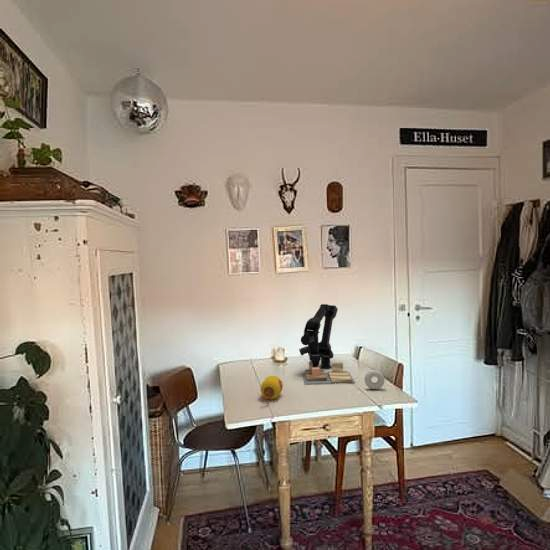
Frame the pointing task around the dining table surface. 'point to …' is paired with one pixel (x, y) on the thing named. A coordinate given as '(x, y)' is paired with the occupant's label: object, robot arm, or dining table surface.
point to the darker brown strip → (314, 378)
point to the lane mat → (323, 380)
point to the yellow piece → (271, 387)
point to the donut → (374, 374)
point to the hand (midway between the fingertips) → (314, 368)
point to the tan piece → (339, 373)
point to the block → (315, 371)
